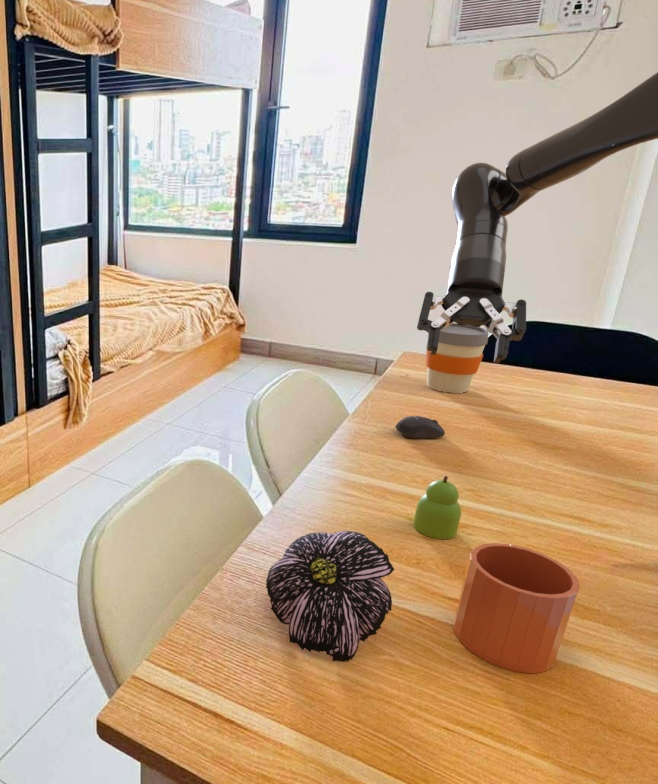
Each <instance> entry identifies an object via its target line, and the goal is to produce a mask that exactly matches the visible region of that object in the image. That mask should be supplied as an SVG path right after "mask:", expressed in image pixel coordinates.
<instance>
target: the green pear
mask: <svg viewBox="0 0 658 784" xmlns="http://www.w3.org/2000/svg"><path fill="white" fill-rule="evenodd" d="M448 479H449V477H448V475H444V476H443V479H437V480H434V481H432V482H431V483H429V484H428V486H427V488H426V490H425V494H423V495H422V496H421V497H420V498H419V499H418V501H417V503H416V507H415V513H414V518H413V521H412V522H413V523H412V525H413V528H414V529H415V530H416V531H417V532H419V533H421V534H423V535H424V536H427V537H429V538H433V539H437V540H451V539H454V538H456V536H457V533H458V529H459V525H460V521H461V516H462V509H461V506H460V503H459V502H458V500H459V496H460V495H459V491H458V489H457V487H456V486H455V484H453V483H452V482H451V481H448Z"/></svg>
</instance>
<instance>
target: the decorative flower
mask: <svg viewBox="0 0 658 784" xmlns="http://www.w3.org/2000/svg"><path fill="white" fill-rule="evenodd" d="M394 571H395V568H394V566H393V564H392V562H390V559H389V554H387V553H385V551H384V550H383V548H381V547H379V546H378V545H377V544H376V543H375V542H374V541H373V540H370V538H368V537H367V535H366V534H363V533H361V532H357V531H351V530H340V531H336V532H333V533H331V532H323V531H321V532H320V531H319V532H310V533H307V534H305V535H302V536H300V537H298V538H296V539H295V540H294V541H293V542H292V543H290V545H289V546H288V547H287V548H286V550H285V551H284V553H283V555H282V558H281V559H279V560H278V561H276V562H274V564H273V565H271V567H270V568H269V570H268V573H267V577H266V579H265V583H266V586H265V589H266V591H267V595H268V597H269V602H270V605H271V606H270V610H271V612H272V613H273V614H274V616H275V617H276V619H278V621H279V623H282V624H283V625H286V626H287V625H288V639H289V643H292V644H296V645H297V646H298V647H299V649H301V651H303V652H304V649H305V650H307V651H308V652H309V653H311V652H312V651H314V652H317V653H323V652H324V653H326V654H325V655H327V656H330V657H331V660H332V661H331V662H342V663H343V662H344V663H345V662H350V661H352V659H353V658H354V657H355V656H356V654H357V652H358V648H359V645H360V641H361V642H365V640H367V639H368V638H369V637H370V636H374V635H377V631H379V630H380V629H381V628H382V624H383V623H384V621H385V619H386V615H388V614H389V612H392V607H393V600H392V595H391V591H390V589H389V587H388V585H387V584H386V582H385V581H384V580H383V579H382V578H384V577H387V576H389V575H391V574H392V573H393V572H394Z"/></svg>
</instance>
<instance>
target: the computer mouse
mask: <svg viewBox="0 0 658 784" xmlns="http://www.w3.org/2000/svg"><path fill="white" fill-rule="evenodd" d="M394 427H395V429H396V431H398V432H399V433H400V434H401V435H402V436H404V437H406V438H407V439H413V440H414V439H415V440H418V439H419V440H421V439H422V440H423V439H429V440H435V439H439V438H442V437H444V435H445V434H446V433H445V429H444V428H443V427H442V425H440V424H439V422H438V420H436V419H431V418H428V417H425V416H420V415H408V416H406V417H403V418H402V419H400V420H399V421H398V422H397V423H396V424H395V425H394Z"/></svg>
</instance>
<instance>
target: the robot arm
mask: <svg viewBox="0 0 658 784" xmlns="http://www.w3.org/2000/svg"><path fill="white" fill-rule="evenodd" d="M654 140H658V71H657V72H655V73H654V74H652V75H651V76H650V77H648V78H647V79H645V80H644V81H642V82H641V83H640V84H639V85H636V86H635V87H634V88H633V89H631V90H630V91H628V92H627V93H625V94H624V95H623V96H621V97H619V98H618V99H616V100H615V101H613V102H612V103H610V104H608V105H606V106H605V107H603V108H602V109H600V110H598V111H597V112H596V113H593V114H592V115H590V116H588V117H586V118H584V119H583V120H580V121H578V122H576V123H574V124H573V125H570V126H569V127H566V128H565V129H563V130H561V131H558V132H555V133H554V134H552V135H550V136H548V137H546V138H545V139H542V140H540V141H538V142H536V143H534V144H532V145H531V146H529V147H526V148H524V149H522V150H521V151H519V152H517V153H516V154H514V155H513V156H512V157H511V158H510V159H509V161H508V162H507V164H506V167H505V171H503V170H501V169H499V168H497V167H496V166H494V165H492V164H490V163H487V162H476V163H472V164H470V165H468V166H466V167H465V168H464V169H463V170H461V172H459V174H458V176H457V177H456V179H455V181H454V182H453V187H452V191H451V202H452V207H453V212H454V217H455V222H456V226H457V233H456V239H455V245H454V251H453V253H452V256H451V262H450V265H449V275H448V282H447V288H446V294H445V295H444V296H439V295H434V292H433V291H427V292H425V293H424V297H423V301H422V305H421V309H420V313H419V317H418V321H417V325H416V329H417V330H418V331H425V332H427V334H429V336H428V335H427V342H426V351H427V350H428V351H431V355H436V352H437V348H438V342H439V335H440V331H441V330H443V329H444V328H447V327H448V326H449V325H451V324H452V323H458V324H457V325H471V326H474V327H481V326H484V327H483V328H484V329H486V330H488V334H492V335H493V336H494V337H495V339H496V342H495V348H494V356H493V363H496V364H500V363H501V361H504V360H505V359H506V358H507V356H508V354H509V348H510V341H516V342H519V341H521V340H522V339H523V336H524V334H525V333H526V331H527V301H526V300H525V299H518V300H517V301H516V302H513V301H512V302H510V301H509V302H507V301H505V300H504V298H503V290H504V283H505V281H504V280H505V273H506V263H507V251H506V250H507V249H506V248H507V247H506V246H507V237H508V230H509V225H508V220H507V218H506V216H509V215H511V214H513V212H515V211H516V210H517V209H519V208H520V207H521V206H523V204H524V203H526V202H528V201H529V200H530V199H532V198H533V197H535V195H537V194H538V193H539V192H542V191H544V190H546V189H548V188H550V187H553V186H556V185H558V184H561V183H562V182H565V181H568V180H569V179H572V178H574V177H576V176H578V175H581V174H582V173H584V172H586V171H587V170H589V169H592V168H593V167H594V166H595V165H597V164H598V163H600V162H601V161H603V160H604V159H606V158H608V157H610V156H612V155H614V154H616V153H618V152H621V151H623V150H626V149H628V148H631V147H634V146H637V145H639V144H643V143H647V142H650V141H654ZM440 305H441V307H442V309H443V310H444V311H443V312H442V313H441V314H440V316H438V317H437V318H435V319H434V320H430V319H429V316H430V311H433V310H435V309H436V308H437V307H438V306H440ZM503 311H505V312H506V313H507V315H508V317H509V318H512V328H510V327H509V326H508V325H507V324H506V322H505V320H504V318H503V317H502V315H501V313H502V312H503Z"/></svg>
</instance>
